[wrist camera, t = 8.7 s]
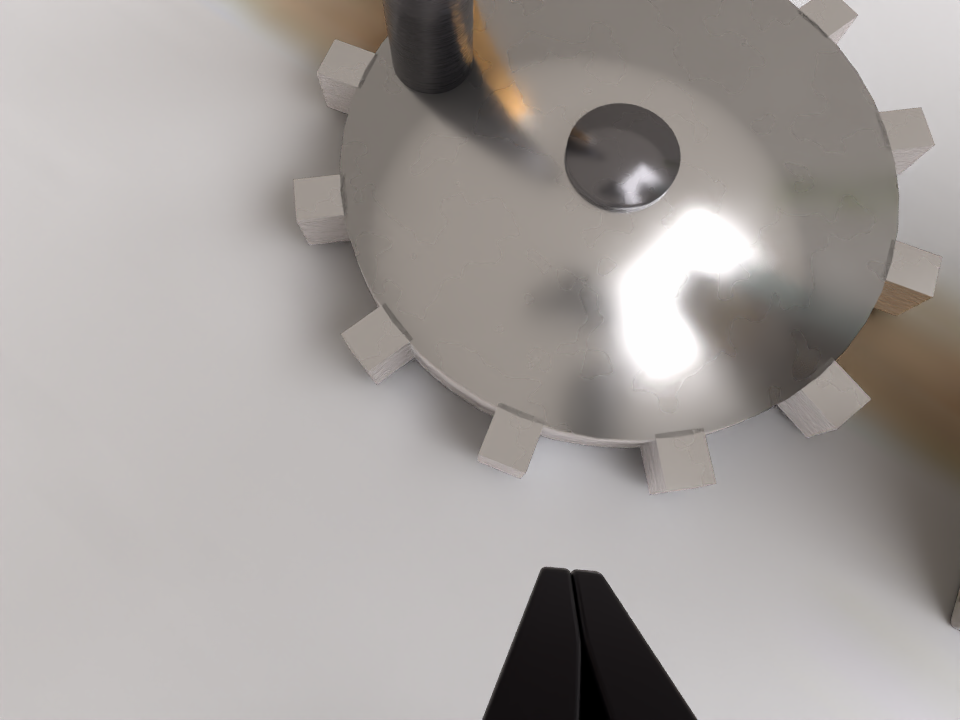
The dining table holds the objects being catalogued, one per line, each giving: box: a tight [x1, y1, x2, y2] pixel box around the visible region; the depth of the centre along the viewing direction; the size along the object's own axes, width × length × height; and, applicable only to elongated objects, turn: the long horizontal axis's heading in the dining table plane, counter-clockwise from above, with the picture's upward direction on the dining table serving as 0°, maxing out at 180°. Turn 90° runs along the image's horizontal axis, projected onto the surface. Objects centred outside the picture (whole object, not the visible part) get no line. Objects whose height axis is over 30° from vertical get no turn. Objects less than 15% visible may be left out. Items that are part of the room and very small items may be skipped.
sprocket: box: [293, 0, 942, 495], centre depth 19 cm, size 23×23×13 cm
